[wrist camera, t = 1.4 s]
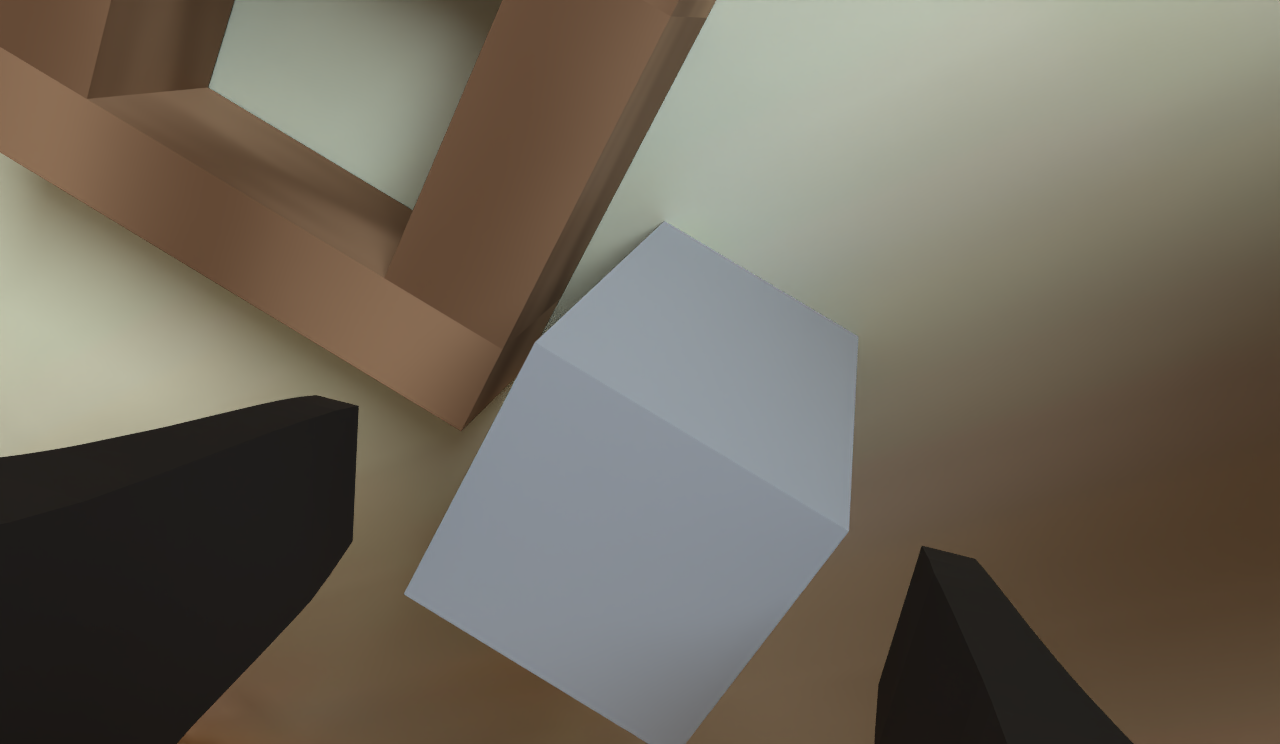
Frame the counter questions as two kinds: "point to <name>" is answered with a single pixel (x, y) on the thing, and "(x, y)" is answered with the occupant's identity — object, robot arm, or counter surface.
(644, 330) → the peg
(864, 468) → the counter surface
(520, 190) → the base
